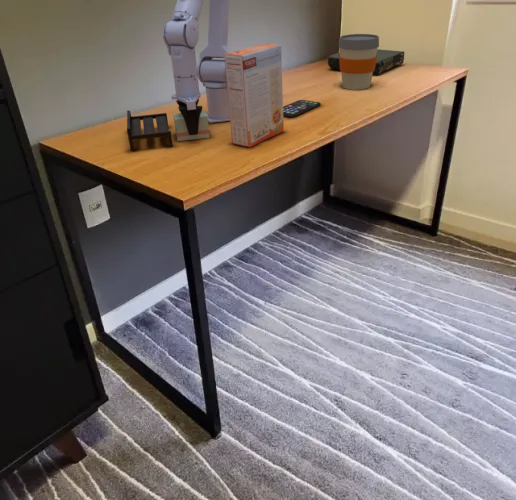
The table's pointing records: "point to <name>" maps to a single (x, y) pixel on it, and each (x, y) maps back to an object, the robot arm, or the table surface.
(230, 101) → the cracker box
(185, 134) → the tissue box
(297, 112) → the smartphone
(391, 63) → the network switch
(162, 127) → the rack
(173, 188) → the table surface
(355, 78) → the reusable coffee cup
